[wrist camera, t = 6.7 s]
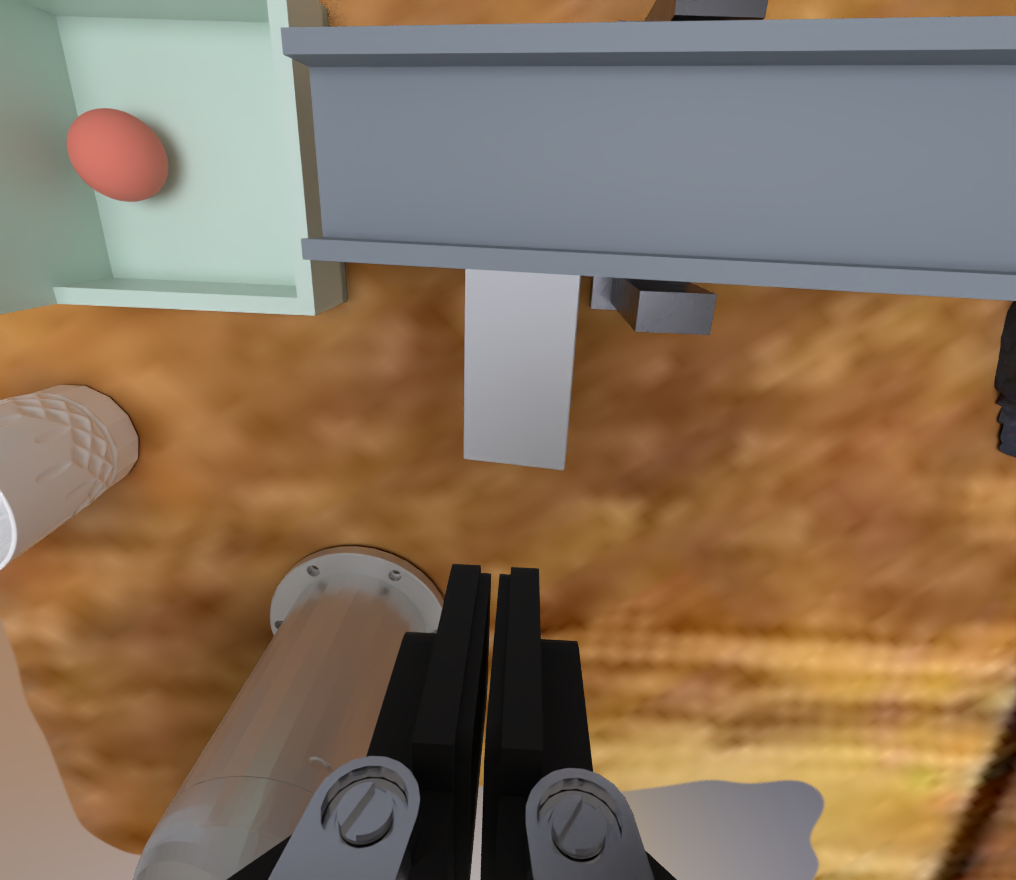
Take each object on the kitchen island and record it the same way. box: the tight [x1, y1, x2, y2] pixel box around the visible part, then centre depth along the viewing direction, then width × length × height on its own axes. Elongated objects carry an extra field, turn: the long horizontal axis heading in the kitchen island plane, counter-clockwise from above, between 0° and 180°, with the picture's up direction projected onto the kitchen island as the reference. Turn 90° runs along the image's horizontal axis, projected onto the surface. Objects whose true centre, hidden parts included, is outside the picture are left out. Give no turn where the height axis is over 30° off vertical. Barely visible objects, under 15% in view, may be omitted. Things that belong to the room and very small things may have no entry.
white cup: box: [0, 385, 138, 570], centre depth 31 cm, size 8×8×10 cm
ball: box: [67, 108, 168, 202], centre depth 27 cm, size 4×4×4 cm
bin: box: [0, 0, 347, 316], centre depth 25 cm, size 14×14×9 cm
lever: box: [281, 16, 1016, 470], centre depth 22 cm, size 16×30×5 cm, turn 88°
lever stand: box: [590, 0, 768, 335], centre depth 24 cm, size 13×5×9 cm, turn 178°
